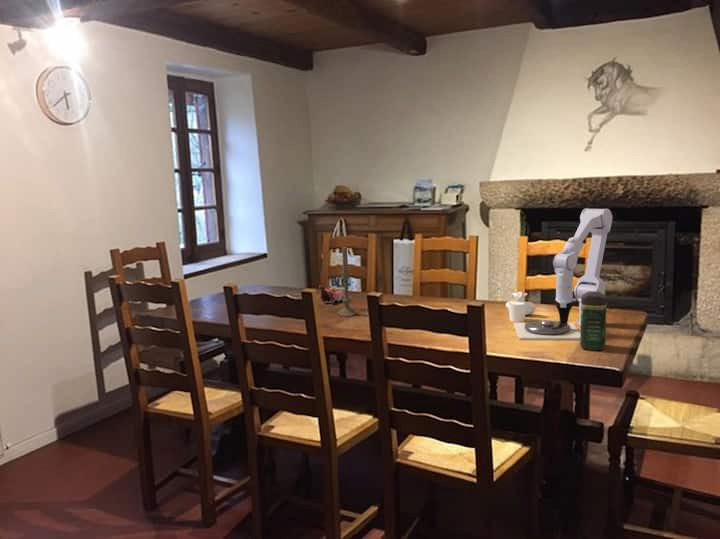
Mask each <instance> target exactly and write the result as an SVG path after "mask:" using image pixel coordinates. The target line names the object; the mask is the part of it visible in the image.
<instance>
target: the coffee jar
mask: <svg viewBox="0 0 720 539" xmlns="http://www.w3.org/2000/svg"><path fill="white" fill-rule="evenodd" d="M606 330H607V296H606V294H605V295H604V294H602V293H601V292H593V291H588V292H587V293H585V294H583V295H582V297H581V326H580V340H579V344H580V348H582V349H584V350H588V351H600V350H601V351H602V350H604V349H605V347H606V335H607V333H606Z"/></svg>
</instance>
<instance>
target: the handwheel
mask: <svg viewBox="0 0 720 539" xmlns="http://www.w3.org/2000/svg"><path fill="white" fill-rule="evenodd" d="M525 323H526V324H525V330H527V331H529V332H533V333H539V334H561V333H566V332H569V331H570V325H569V324H568V323H569V321H568V322H567V324H561V322H560V316H559V315H558V320H557V321H556V320H550V319H545V320H534V321H533V320H532V321H529V322H525Z"/></svg>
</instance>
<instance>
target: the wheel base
mask: <svg viewBox="0 0 720 539" xmlns="http://www.w3.org/2000/svg"><path fill="white" fill-rule="evenodd" d="M526 323H527V322H513V326H514V329H515V332H516V335H517V338H518V340H519V341H580V333H581V330H580V329H578V327H577V326H576V325H575V323H574V322H568V324H569V325H570V331H569V332H566V333H561V334H539V333H533V332H529V331H527V330H525V324H526Z"/></svg>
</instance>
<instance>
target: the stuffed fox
mask: <svg viewBox="0 0 720 539" xmlns="http://www.w3.org/2000/svg"><path fill="white" fill-rule="evenodd" d="M318 289H319V290H320V299H321V301H322V302H323V303H324V302H326V301H328V302H329V303H332V302H335V301H340V300H342V301H343V299H344V297H345V293H344V292H345V291H344V290H345V289H343V290H336V291H333V290H331V289H329V288H326V287H323V286H321V285H319V288H318ZM334 300H335V301H334ZM330 301H331V302H330Z"/></svg>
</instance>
